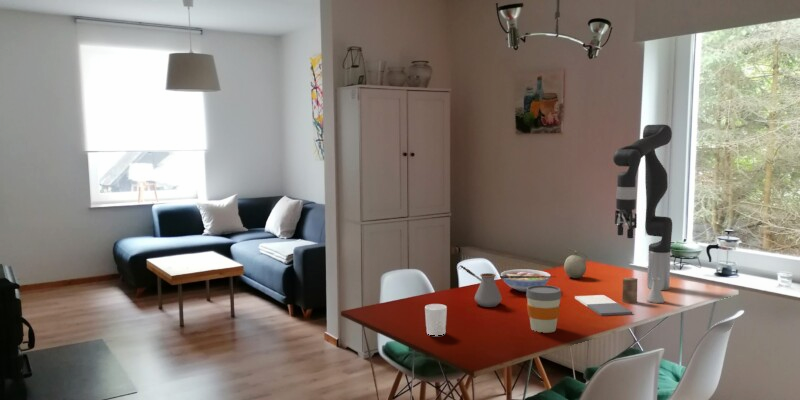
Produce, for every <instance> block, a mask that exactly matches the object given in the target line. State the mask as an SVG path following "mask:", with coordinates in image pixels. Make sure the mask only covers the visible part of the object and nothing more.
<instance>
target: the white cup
mask: <svg viewBox="0 0 800 400" xmlns="http://www.w3.org/2000/svg"><path fill="white" fill-rule="evenodd" d="M447 308H448V307H447V305H445V304H441V303H430V304H426V305H425V306H424V315H425V317H424V318H425V327H426V333H427V335H428V334H429V335H428V336H430V335H435V336H434V337H439V336H438V335H442V336H444V335H446V327H447V312H448V311H447V310H448V309H447ZM443 334H444V335H443Z"/></svg>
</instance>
